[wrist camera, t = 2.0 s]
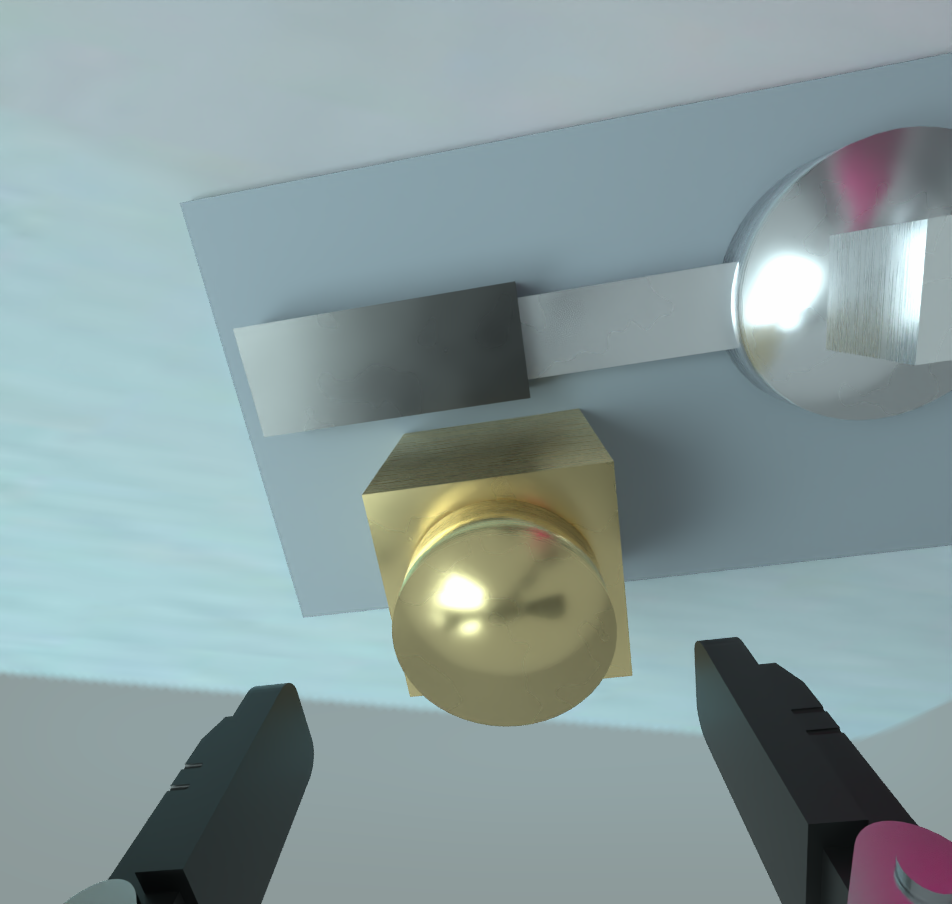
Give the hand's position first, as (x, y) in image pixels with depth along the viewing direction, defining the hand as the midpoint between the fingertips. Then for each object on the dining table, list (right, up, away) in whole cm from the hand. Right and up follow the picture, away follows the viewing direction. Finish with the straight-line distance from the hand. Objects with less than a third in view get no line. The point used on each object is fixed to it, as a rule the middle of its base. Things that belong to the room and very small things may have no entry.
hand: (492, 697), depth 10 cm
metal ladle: (+4, +9, +7) cm, 12 cm away
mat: (+4, +7, +8) cm, 12 cm away
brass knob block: (+1, +3, +9) cm, 10 cm away
